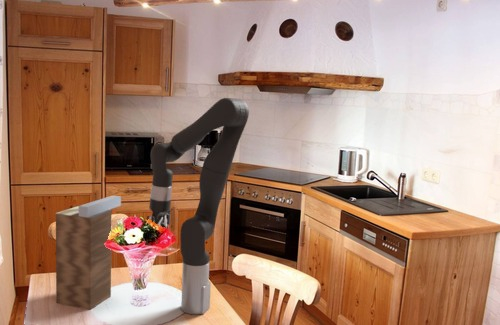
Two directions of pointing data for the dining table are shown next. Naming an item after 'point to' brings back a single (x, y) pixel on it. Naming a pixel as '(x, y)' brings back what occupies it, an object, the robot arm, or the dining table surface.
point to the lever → (99, 206)
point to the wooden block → (82, 258)
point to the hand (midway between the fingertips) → (156, 239)
